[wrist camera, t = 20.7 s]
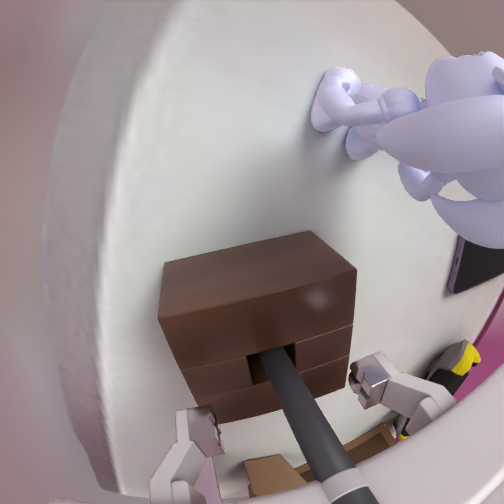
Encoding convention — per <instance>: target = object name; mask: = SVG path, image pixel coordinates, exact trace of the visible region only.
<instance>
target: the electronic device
mask: <svg viewBox="0 0 504 504" xmlns="http://www.w3.org/2000/svg"><path fill="white" fill-rule="evenodd" d="M206 458H207V459H206V461H205V463H204V466H203V468H202V470H201V472H200V475H199V477H198V479H197V481H196V483H195V486H194V488H195V489H196V490H197V491H199V492H200V493H201V494H202V495H204V496H205V498H206V502H207V504H220V503H222V500H221V496H220V491H219V486H218V482H217V477H216V473H215V468H214V464H213V460H212V456H211V457H206Z"/></svg>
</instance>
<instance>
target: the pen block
mask: <svg viewBox="0 0 504 504" xmlns="http://www.w3.org/2000/svg"><path fill="white" fill-rule="evenodd" d="M356 278H357V269H356V268H355V267H354V266H353V265H351V264H350V263H349V262H348V261H347V260H345V259H344V258H343V257H342V256H341V255H340V254H338V253H337V252H336V251H335V250H334V249H332V248H331V247H330V246H329V245H327V244H326V243H325V242H324V241H323V240H321V239H320V238H319V237H318V236H316V235H315V234H314V233H313V232H312V231H306V232H301V233H296V234H292V235H287V236H282V237H278V238H273V239H269V240H264V241H259V242H255V243H250V244H246V245H241V246H237V247H232V248H228V249H223V250H219V251H214V252H210V253H205V254H201V255H196V256H192V257H188V258H183V259H179V260H174V261H170V262H165V263H164V270H163V278H162V285H161V293H160V302H159V311H158V321H159V323H160V325H161V328H162V330H163V333H164V335H165V337H166V340H167V342H168V344H169V347H170V349H171V351H172V353H173V355H174V358H175V360H176V362H177V364H178V366H179V368H180V370H181V372H182V375H183V377H184V379H185V381H186V383H187V385H188V387H189V389H190V391H191V393H192V395H193V396H194V399H195V401H196V403H197V405H198V406H199V407H200V406H206V405H211V406H212V408H213V412H214V414H216V416H217V419H218V422H219V424H223V423H228V422H233V421H238V420H242V419H246V418H251V417H255V416H259V415H262V414H266V413H270V412H273V411H277V410H280V409H282V407H281V405H280V403H279V400H278V398H277V396H276V394H275V391H274V389H273V387H272V385H271V382H270V380H269V378H268V376H267V373H266V371H265V369H264V366H263V364H262V362H261V359H260V357H259V355H258V353H259V352H263V351H267V350H270V349H274V348H278V347H281V346H283V347H284V349H285V351H286V352H287V354H288V356H289V358H290V359H291V361H292V363H293V364H294V366H295V368H296V369H297V371H298V373H299V375H300V376H301V378H302V380H303V381H304V383H305V385H306V386H307V388H308V390H309V391H310V393H311V395H312V396H313V398H314V399H315V398H318V397H321V396H323V395H326V394H329V393H332V392H334V391H337V390H339V389H342V388H344V387H345V382H346V375H347V369H348V362H349V354H350V346H351V337H352V328H353V324H352V323H353V319H354V307H355V294H356Z"/></svg>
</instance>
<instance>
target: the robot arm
mask: <svg viewBox="0 0 504 504" xmlns="http://www.w3.org/2000/svg"><path fill="white" fill-rule="evenodd" d="M350 369H351V373H350V374H349V378H348V380H349V385H350V387H351V389H352V391H353V392H354V393H356V394H358V395H359V396H358V400H359V402H360V403H361V405H362V407H363V408H364V410H365V409H367V408H369V407H372V406H374V405H376V404H378V403H380V402H381V403H380V404H382V405H384V406H386V407H388V408H390V409H392V410H394V411H396V412H398V413H400V414H402V415H404V416H406V417H408V418H410V419H411V420H410V421H409V423H408V425H407V426H406V429H405V430H406V431H407V433H408V434H409V437H408V438H406V439H404V440H403V441H401V442H400V443H397V444H396V445H394V446H392V447H390V448H388V449H386V450H384V451H383V452H381V453H379V454H377V455H375V456H373V457H371V458H369V459H367V460H364V461H362V462H360V463H358V464H356V465H355V466H356V468H358V469H359V470H360V471H361V473H362V475H363V476H364V478H365V479H366V481H367V482H368V484H369V486H368V487H369V489H370V490H371V492H372V493H373V495H374V496H375V498H376V499H377V501H378V502H379V504H504V363H503V364H502V365H501V366H500V367H499V368H498V369H497V370H496V371H495V372H493V374H491V375H490V376H489V377H488V378H487V379H486V380H485V381H484V382H483V383H482V384H481V385H479V386H478V387H477V388H476V389H475V390H473V391H472V392H471V393H470V394H469V395H467V396H466V397H465V398H464V399H463V400H462V401H460V402H459V403H458V402H457V401H456V400H455V399H454V398H453V396H452V395H451V394H450V393H449V392H448V391H447V389H446V388H445V387H444V386H442V385H439V384H436V383H433V382H430V381H427V380H424V379H421V378H418V377H415V376H412V375H410V374H407V373H404V372H402V373H400V372H399V371H398V370H397V369H396V367H395V366H394V365H393V364H392V363H391V361H390V360H389V359H388V358H387V357H386V356H385V354H384V353H383V352H381V351H379V352H377V353H374V354H372V355H369V356H367V357H365V358H362V359H360V360H358V361H355V362H353V363H352V364H351V365H350ZM175 423H176V438H177V443H173V445H172V446H171V448H170V450H169V451H168V453H167V454H166V456H165V457H164V459H163V461H162V462H161V464H160V465H159V467H158V468H157V470H156V472H155V473H154V475H153V476H152V478H151V479H150V481H149V489H150V502H151V503H150V504H207V502H206V498H205V496H204V495H202V494H201V493H200V492H199V491H197V490H196V489H195V488H194V486H195V483H196V481H197V479H198V477H199V475H200V472H201V470H202V468H203V466H204V463H205V461H206V459H207V458H206V457H211V456H216V455H221V454H225V449H224V444H223V440H222V439H221V437H220V434H221V429H220V425H219V422H218V419H217V416H216V414H214V412H213V408H212V406H211V405H206V406H200V407H194V408H187V409H181V410H176V412H175ZM49 504H92V503H86V502H80V501H75V500H70V499H65V498H55V499H53V500H52V501H51V502H50V503H49ZM220 504H332V503H330V502H329V501H328V498H327V496H326V494H325V493H324V491H323V489H322V487H321V482H319V481H318V480H315V481H313V482H310V483H307V484H304V485H300V486H297V487H294V488H290V489H287V490H283V491H280V492H276V493H272V494H268V495H264V496H259V497H255V498H250V499H245V500H240V501H234V502H227V503H220Z"/></svg>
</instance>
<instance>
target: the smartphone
mask: <svg viewBox="0 0 504 504" xmlns="http://www.w3.org/2000/svg"><path fill="white" fill-rule="evenodd" d="M503 273H504V249H493V248H487V247H483V246H480V245H477V244H474V243H472V242H470V241H468V240H466V239H464V238H463V237H461V236H460V235H459V240H458V246H457V250H456V255H455V260H454V264H453V268H452V272H451V276H450V280H449V284H448V289H449V291H450V292H452V293H453V294H458V293H461V292H463V291H466V290H468V289H470V288H473V287H475V286H477V285H479V284H482V283H484V282H486V281H488V280H490V279H493V278H495V277H497V276H499V275H501V274H503Z"/></svg>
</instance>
